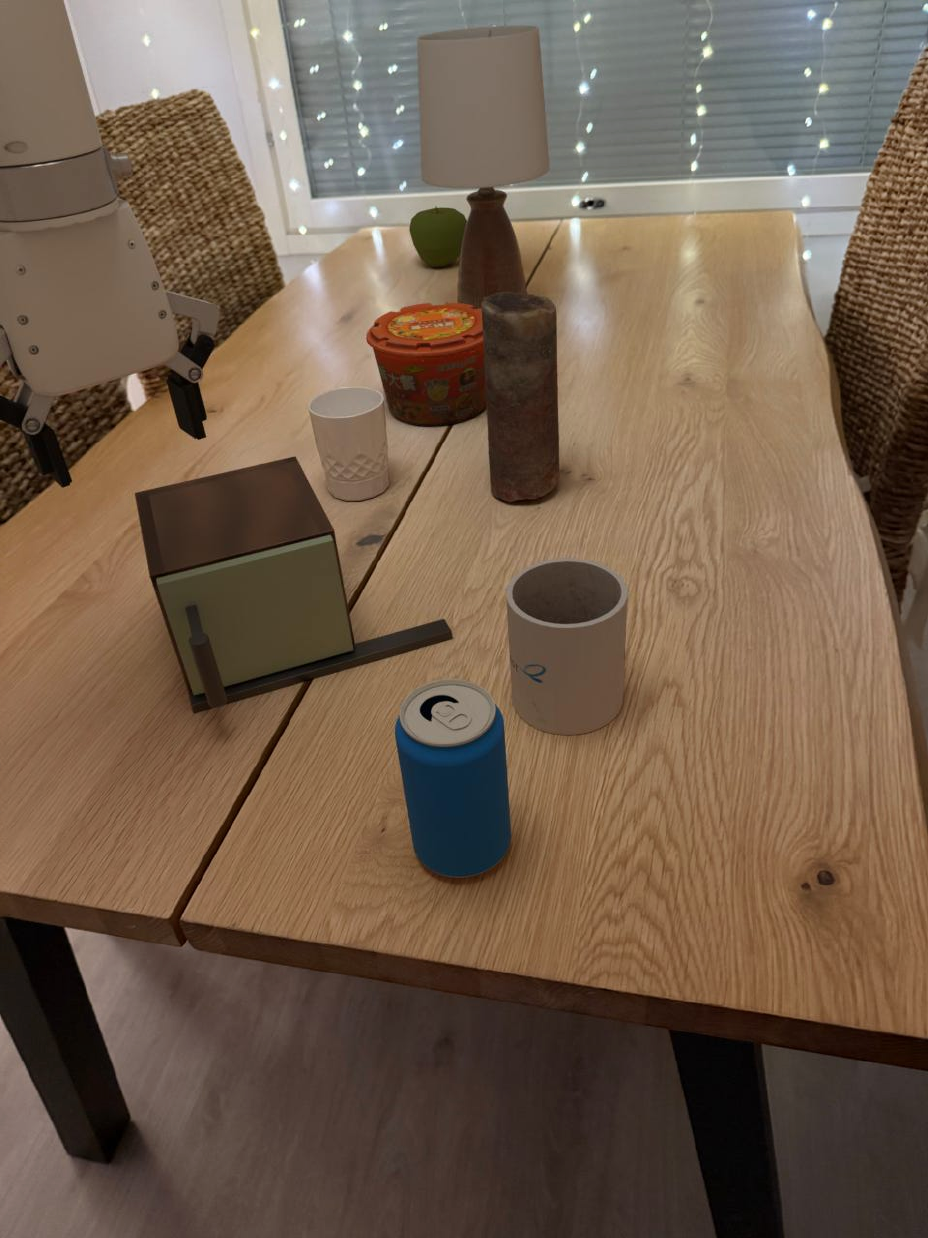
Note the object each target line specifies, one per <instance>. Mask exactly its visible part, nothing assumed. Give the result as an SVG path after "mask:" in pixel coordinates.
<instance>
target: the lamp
mask: <svg viewBox="0 0 928 1238" xmlns="http://www.w3.org/2000/svg"><path fill="white" fill-rule="evenodd" d="M540 37H541V36H540V27H538V26H537V25H528V24H527V25H526V24H525V25H524V24H520V25H519V24H518V25H517V24H514V25H494V26H493V25H492V26H478V27H468V28H467V27H466V28H459V29H451V30H444V31H438V32H437V31H435V32H432V33H426V34H422V35H419V36H418V37H416V48H417V49H416V52H417V53H416V54H417V76H418V77H417V79H418V80H417V82H418V111H419V112H418V113H419V137H420V138H419V140H420V142H419V143H420V162H421V163H420V169H421V170H420V171H421V172H420V173H421V180H422V182H423V183H425V184H427V185H429V186H433V187H437V188H447V189H477V190H476V191H473V192H471V193H469V194H467V196H466V198H465V200H466V201H467V203H468V205H469V207H470V212H469V214H468V217H467V219H466V220H467V223H466V226H465V230H464V234H463V238H462V244H461V251H460V257H459V262H458V273H457V274H458V275H457V279H458V280H457V297H456V298H457V299H456V303H463V304H468V305H472V306H473V308H474V309H479V308H481V304H482V301H483V298H484V297H487V296H490V295H493V294H497V293H500V292H514V293H520V294H528V290H527V283H526V276H525V273H524V266H523V262H522V261H523V260H522V255H521V250H520V246H519V245H520V244H519V242H518V239H517V235H516V231H515V229H514V226H513V224H512V221H511V219H510V216H509V214H508V212H507V210H506V208H505V202H506V201H507V198H508V194H507V193H506V192H505V191H503V190H499V189H495V188H496V187H504V186H510V185H516V184H521V183H526V182H529V181H533V180H535V179H538V178H541V177H543V176H544V175H546V174H547V173H548V172H549V171H550V156H549V155H550V153H549V141H548V128H547V116H546V114H547V113H546V102H545V101H546V100H545V89H544V76H543V63H542V50H541V38H540Z"/></svg>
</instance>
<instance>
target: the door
mask: <svg viewBox="0 0 928 1238" xmlns="http://www.w3.org/2000/svg"><path fill="white" fill-rule="evenodd" d="M156 581H157V586H158V589H159V592H160V595H161V598H162V601H163V604H164V607H165V610H166V613H167V616H168V619H169V622H170V625H171V628H172V631H173V634H174V637H175V640H176V643H177V646H178V649H179V652H180V655H181V658H182V661H183V664H184V667H185V670H186V673H187V676H188V679H189V682H190V685H191V688H192V691H193V694H194V695H198V694H201V693H205V695H206V698H207V701H208V704H209V705H210V706H211V707H213V708H220V707H222V706H224V705H226V704H225V703H226V702H227V696H226V693H225V690H224V687H226V686H229V685H233V684H236V683H240V682H243V681H247V680H250V679H254V678H257V677H261V676H264V675H268V674H272V673H275V672H279V671H282V670H286V669H289V668H293V667H296V666H300V665H303V664H307V663H310V662H314V661H317V660H321V659H324V658H328V657H331V656H335V655H338V654H342V653H345V652H349V651H352V650H353V644H352V639H351V633H350V628H349V622H348V617H347V612H346V606H345V601H344V595H343V590H342V585H341V579H340V574H339V568H338V563H337V558H336V552H335V547H334V541H333V539H332V537H331V535H327V536H323V537H319V538H315V539H311V540H307V541H303V542H299V543H295V544H291V545H287V546H283V547H279V548H275V549H271V550H267V551H263V552H259V553H255V554H251V555H247V556H243V557H240V558H236V559H232V560H228V561H224V562H220V563H216V564H212V565H208V566H204V567H200V568H196V569H192V570H188V571H184V572H180V573H176V574H172V575H168V576H164V577H160V578H157V579H156Z"/></svg>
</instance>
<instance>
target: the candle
mask: <svg viewBox="0 0 928 1238" xmlns="http://www.w3.org/2000/svg"><path fill="white" fill-rule="evenodd" d="M481 309H482V327H483V342H484V364H485V382H486V403H487V407H486V421H487V440H488V463H489V479H490V492H491V495H493V497H495V498H498V499H501V500H503V501H505V502H509V503H511V502H516V501H518V500H519V501H522V500H537V499H539V498H541V497H544V496H546V495H547V494H548V493H550V492H552V491H553V490H554V488H556V487H555V486H556V485H557V484H558V482H559V481H560V432H559V431H560V429H559V428H560V427H559V425H560V423H559V401H558V400H559V387H558V327H557V326H558V323H557V321H558V319H557V318H558V317H557V308H556V306H555V303H554V302H553V300H551V299H550V298H548V297H547V296H544V295H534V294H529V293H527V294H520V293H514V292H500V293H497V294H493V295H490V296H487V297H484V298H483V301H482V304H481Z"/></svg>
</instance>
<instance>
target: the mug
mask: <svg viewBox="0 0 928 1238" xmlns="http://www.w3.org/2000/svg"><path fill="white" fill-rule="evenodd" d="M628 591H629V590H628V587H627V583H626V582H625V580H624V579H623V577H622V576H621V575H620V574H619V573H618V572H617V571H616V570H614V569H612V568H611V567H609V566H607V565H604V564H602V563H600V562H597V561H595V560H594V561H593V560H590V559H583V558H578V557H577V558H576V557H574V558H573V557H562V558H552V559H547V560H542V561H538V562H535V563H533V564H530V565H528V566H526V567H524V568H523V569H521V570H520V571H518V572H516V574H514V576H513V577H512V578H511V579H510V580H509V583H508V584H507V587H506V591H505V597H506V614H507V615H506V617H507V632H508V650H509V651H508V652H509V668H510V669H509V671H510V688H511V701H512V702H511V703H512V707H513V708H514V711H515V712H516V714H517V716H518V717H519V718H520V719H521V720H522V721H524V722H525V723H526V724H528V725H529V726H531V727H532V728H534V729H537V730H539V731H542V732H544V733H547V734H548V733H549V734H553V735H561V736H575V735H583V734H588V733H592V732H594V731H597V730H600V729H602V728H603V727H605V726H607V725H608V724H610V723H611V722H612V721H613V720H615V719H616V718H617V716H618V715H619V714H620V712H621V709H622V707H623V704H624V688H625V667H626V666H625V664H626V663H625V662H626V642H627V641H626V640H627V639H626V638H627V617H628V616H627V615H628V614H627V613H628V593H629V592H628Z"/></svg>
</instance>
